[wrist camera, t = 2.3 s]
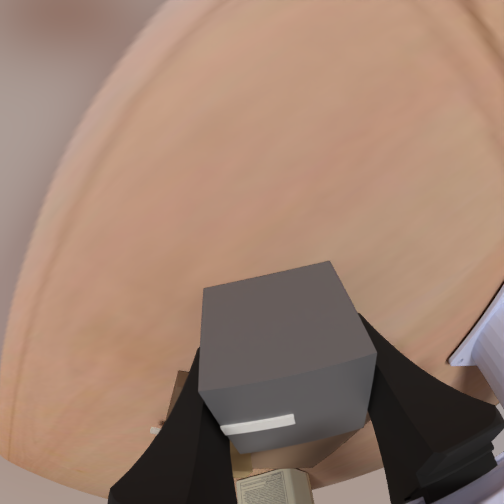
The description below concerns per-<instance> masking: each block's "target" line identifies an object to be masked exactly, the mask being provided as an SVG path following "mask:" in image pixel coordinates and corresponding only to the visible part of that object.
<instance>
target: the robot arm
mask: <svg viewBox="0 0 504 504" xmlns="http://www.w3.org/2000/svg"><path fill="white" fill-rule="evenodd" d="M358 315H359V317H360V319H361V321H362V323H363V325H364V327H365V329H366V331H367V333H368V335H369V337H370V339H371V341H372V343H373V345H374V347H375V349H376V351H377V357H376V364H375V370H374V377H373V382H372V388H371V394H370V399H369V404H368V409H367V411H368V413H369V416H370V418H371V421H372V424H373V427H374V431H375V434H376V438H377V441H378V445H379V449H380V453H381V456H382V461H383V465H384V469H385V474H386V479H387V484H388V489H389V495H390V501H391V504H504V451H503V452H502V453H500V454H499V455H498V456H496V457H494V456H493V453H492V450H493V449H494V446H493V444H492V442H491V441H492V440H493V439H494V438H495V437H496V436H497V435H498V434H499V433H500V432H501V431H502V430H503V429H504V419H503V418H502V416H501V414H500V412H499V411H498V409H497V408H496V406H495V405H492V404H489V403H487V402H484V401H481V400H478V399H475V398H473V397H471V396H468V395H466V394H464V393H462V392H460V391H458V390H456V389H454V388H452V387H450V386H448V385H447V384H445V383H443V382H441V381H439V380H438V379H436V378H435V377H433V376H431V375H430V374H428V373H427V372H425V371H424V370H422V369H421V368H420V367H418V366H417V365H415V364H414V363H413V362H412V361H410V360H409V359H408V358H407V357H405V356H404V355H403V354H402V353H400V352H399V351H398V350H397V349H396V348H395V347H394V346H392V345H391V344H390V343H389V342H388V341H387V340H386V339H385V338H384V337H383V336H382V335H380V334H379V333H378V332H377V331H376V330H375V329H374V328H373V327H372V326H371V325H370V324H369V323H368V322H367V320H366V319H365V318H364V317H363V316H362V315H361V314H360V313H358ZM199 359H200V347H199V348H198V349H197V352H196V355H195V358H194V361H193V363H192V366H191V369H190V371H189V374H188V376H187V379H186V381H185V383H184V386H183V388H182V390H181V392H180V395H179V397H178V399H177V401H176V403H175V405H174V407H173V409H172V411H171V413H170V414H169V416H168V418H167V420H166V421H165V423H164V425H163V426H162V428H161V430H160V431H159V433H158V434H157V436H156V437H155V439H154V440H153V441H152V443H151V444H150V446H149V447H148V448H147V450H146V451H145V452H144V454H143V455H142V456H141V457H140V458H139V459H138V461H137V462H136V463H135V464H134V465H133V466H132V468H131V469H130V470H129V471H128V472H127V473H126V474H125V475H124V476H123V477H122V478H121V479H120V480H119V481H118V482H116V483H115V484H114V485H113V486H112V487H111V488H110V492H109V496H108V504H237V498H236V492H235V486H234V479H233V472H232V463H231V455H230V439H229V438H228V436H227V435H225V434H224V433H223V431H222V430H221V428H220V425H219V423H218V422H217V420H216V419H215V417H214V415H213V414H212V412H211V411H210V409H209V408H208V406H207V405H206V403H205V401H204V400H203V398H202V397H201V395H200V394H199V392H198V383H199ZM448 362H449V364H450V365H451V366H475V365H477V366H478V368H479V369H480V371H481V372H482V374H483V376H484V377H485V379H486V380H487V382H488V384H489V385H490V387H491V389H492V390H493V392H494V394H495V395H496V397H497V399H498V400H499V402H500V404H501V405H502V407H503V409H504V285H503V286H502V288H501V289H500V291H499V292H498V294H497V295H496V297H495V299H494V300H493V302H492V303H491V304H490V306H489V307H488V309H487V310H486V312H485V313H484V315H483V316H482V317H481V319H480V320H479V322H478V323H477V324H476V326H475V327H474V328H473V330H472V331H471V332H470V334H469V335H468V336H467V337H466V339H465V340H464V341H463V343H462V344H461V345H460V346H459V347H458V349H457V350H456V351H455V352H454V354H453V355H452V356H451V357H450V359H449V361H448Z"/></svg>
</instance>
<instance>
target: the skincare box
mask: <svg viewBox="0 0 504 504" xmlns="http://www.w3.org/2000/svg"><path fill="white" fill-rule="evenodd" d="M236 486H237V498H238V504H314V500H313V495H312V490H311V485H310V480H309V475H308V473H306V472H303V471H300V470H297V469H295V468H293V469H277V470H274V471H270V472H267V473H264V474H261V475H257V476H253V477H249V478H246V479H243V480H239V481H236Z"/></svg>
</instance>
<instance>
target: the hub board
mask: <svg viewBox="0 0 504 504" xmlns="http://www.w3.org/2000/svg"><path fill="white" fill-rule="evenodd" d="M188 374H189V373H188V372H183V371H178V374H177V378H176V382H175V386H174V390H173V394H172V398H171V401H170V405H169V409H168V413H167V418H168V416H169V414H170V413H171V411H172V409H173V407H174V405H175V403H176V401H177V399H178V397H179V395H180V392H181V390H182V388H183V386H184V383H185V381H186V379H187V376H188ZM167 418H166V420H167ZM370 420H371V418H370V416H369V413H368V411H367V414H366V419H365V423H364V425H365V424H366V423H367V422H369V421H370ZM360 429H361V428H360ZM360 429H357V430H354V431H350V432H347V433H343V434H340V435H336V436H332V437H328V438H324V439H320V440H316V441H312V442H307V443H303V444H298V445H293V446H288V447H283V448H278V449H272V450H266V451H259V452H252V453H245V454H240V453H239V452H238V451H237V449H236V448H235V446H234V445H233V443H232V442H231V441H230V455H231V463H232V472H233V478H246V477H247V476H248V475H249V474H251V473H252V472H253V471H252V469H293V468H312V467H314V466H315V465H317V464H318V463H319V462H321V461H322V460H323V459H325V458H326V457H327V456H328V455H330V454H331V453H332V452H334V451H335V450H336V449H337V448H338V447H340V446H341V445H342V444H343V443H345V442H346V441H347V440H348V439H349V438H350V437H352V436H353V435H354V434H355V433H356V432H357V431H359V430H360ZM160 430H161V429H160V428H155V427H151V430H150V433H152V434H158V433H159V431H160Z"/></svg>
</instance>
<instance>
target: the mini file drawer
mask: <svg viewBox="0 0 504 504" xmlns="http://www.w3.org/2000/svg"><path fill="white" fill-rule="evenodd" d="M376 357H377V351H376V349H375V347H374V345H373V343H372V341H371V339H370V337H369V335H368V333H367V331H366V329H365V327H364V325H363V323H362V321H361V319H360V317H359V315H358V313H357V311H356V309H355V307H354V305H353V303H352V301H351V299H350V298H349V296H348V294H347V292H346V290H345V288H344V286H343V284H342V282H341V280H340V279H339V277H338V275H337V273H336V271H335V269H334V268H333V266H332V264H331V262H330V261H326V262H322V263H318V264H313V265H309V266H305V267H300V268H296V269H291V270H287V271H282V272H278V273H273V274H269V275H264V276H260V277H255V278H251V279H246V280H241V281H237V282H232V283H227V284H222V285H218V286H213V287H208V288H204V290H203V304H202V320H201V338H200V359H199V383H198V392H199V394H200V395H201V397H202V398H203V400H204V401H205V403H206V405H207V406H208V408H209V409H210V411H211V412H212V414H213V415H214V417H215V419H216V420H217V422H218V423H219V425H220V428H221V430H222V431H223V433H224V434H225V435H227V436H228V438H229V439H230V441H231V442H232V443H233V445H234V446H235V448H236V449H237V451H238V452H239V453H240V454H245V453H252V452H259V451H266V450H272V449H278V448H283V447H288V446H293V445H298V444H303V443H307V442H312V441H316V440H320V439H324V438H328V437H332V436H336V435H340V434H343V433H347V432H350V431H354V430H357V429H360V428H364V423H365V419H366V414H367V409H368V404H369V399H370V394H371V388H372V382H373V377H374V370H375V364H376Z"/></svg>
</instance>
